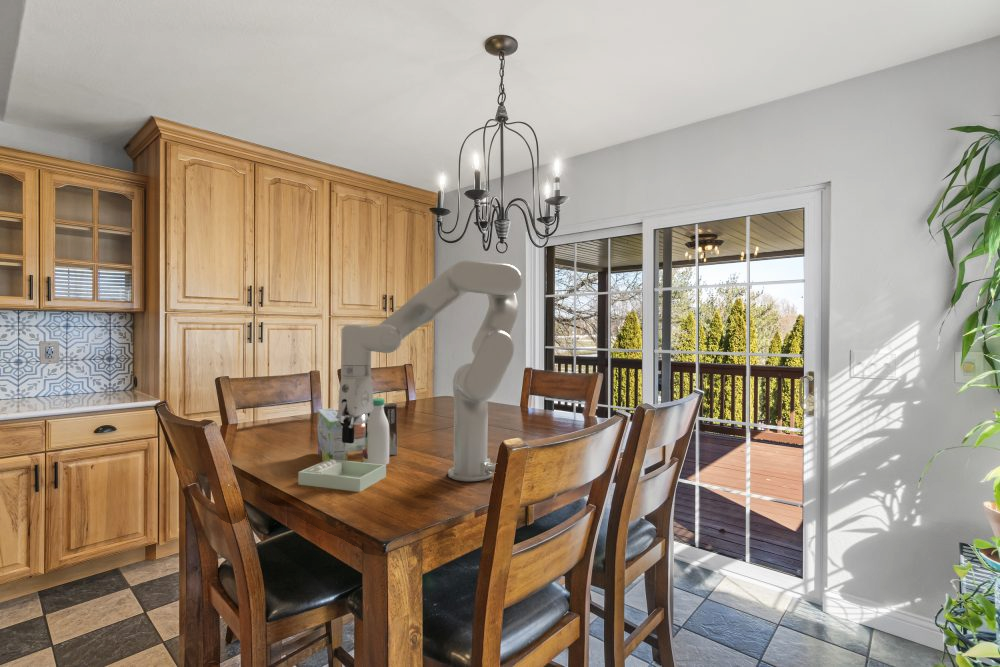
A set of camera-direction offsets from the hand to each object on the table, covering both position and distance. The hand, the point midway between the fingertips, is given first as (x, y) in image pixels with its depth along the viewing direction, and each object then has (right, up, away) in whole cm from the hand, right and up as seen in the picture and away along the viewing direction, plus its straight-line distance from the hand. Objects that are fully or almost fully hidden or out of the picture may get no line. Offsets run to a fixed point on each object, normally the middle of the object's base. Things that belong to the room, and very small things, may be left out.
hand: (354, 439), depth 130 cm
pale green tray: (-3, -12, +1) cm, 12 cm away
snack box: (-13, -12, +20) cm, 27 cm away
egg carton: (-9, -11, +3) cm, 14 cm away
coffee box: (0, -12, +32) cm, 34 cm away
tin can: (0, -2, 0) cm, 2 cm away
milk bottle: (+1, -12, +18) cm, 22 cm away
